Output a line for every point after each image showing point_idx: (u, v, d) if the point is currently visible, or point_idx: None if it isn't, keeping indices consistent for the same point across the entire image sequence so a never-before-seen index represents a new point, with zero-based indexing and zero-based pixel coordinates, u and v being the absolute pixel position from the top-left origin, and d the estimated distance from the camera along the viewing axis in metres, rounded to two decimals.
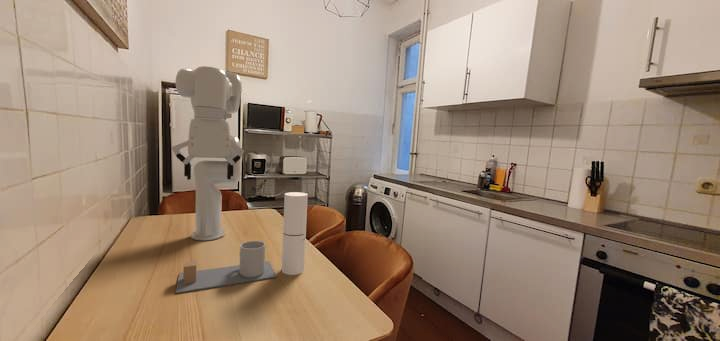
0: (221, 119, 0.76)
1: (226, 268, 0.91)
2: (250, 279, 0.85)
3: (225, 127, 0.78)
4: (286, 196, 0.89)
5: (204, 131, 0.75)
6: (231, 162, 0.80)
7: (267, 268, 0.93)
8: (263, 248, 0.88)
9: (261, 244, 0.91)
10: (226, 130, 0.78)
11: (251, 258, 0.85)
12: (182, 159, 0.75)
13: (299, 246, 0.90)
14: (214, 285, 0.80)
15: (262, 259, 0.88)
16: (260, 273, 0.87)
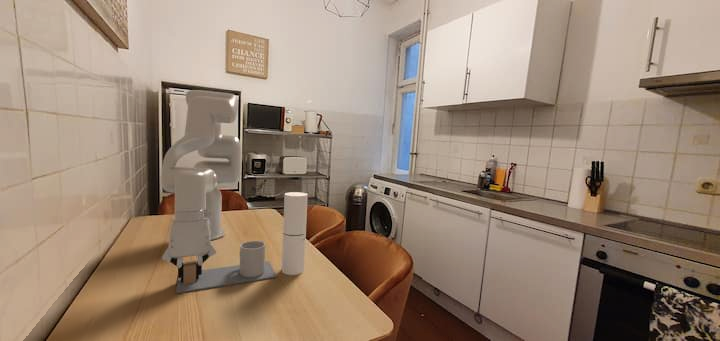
0: (200, 220, 0.80)
1: (226, 268, 0.91)
2: (250, 279, 0.85)
3: (205, 226, 0.81)
4: (286, 196, 0.89)
5: (184, 233, 0.78)
6: (200, 262, 0.82)
7: (267, 268, 0.93)
8: (263, 248, 0.88)
9: (261, 244, 0.91)
10: (206, 229, 0.81)
11: (251, 258, 0.85)
12: (176, 263, 0.79)
13: (299, 246, 0.90)
14: (214, 285, 0.80)
15: (262, 259, 0.88)
16: (260, 273, 0.87)
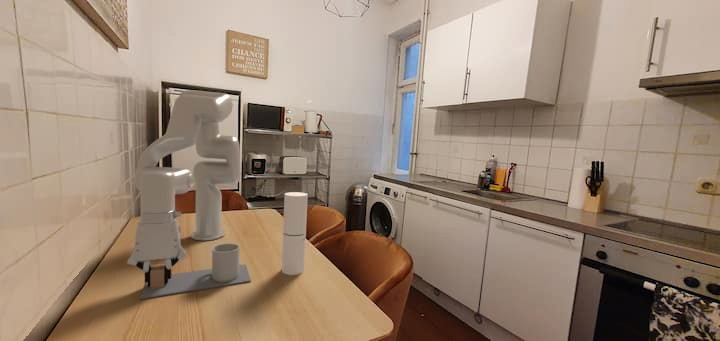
0: (168, 222, 0.76)
1: (199, 272, 0.87)
2: (222, 283, 0.81)
3: (173, 228, 0.77)
4: (286, 196, 0.89)
5: (150, 236, 0.75)
6: (168, 266, 0.78)
7: (242, 272, 0.89)
8: (236, 251, 0.84)
9: (235, 247, 0.88)
10: (174, 231, 0.77)
11: (223, 262, 0.82)
12: (142, 267, 0.76)
13: (299, 246, 0.90)
14: (183, 290, 0.77)
15: (235, 262, 0.84)
16: (233, 277, 0.84)
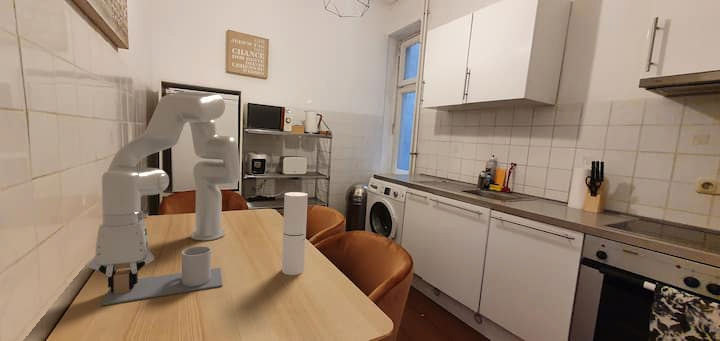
0: (132, 224, 0.72)
1: (169, 276, 0.84)
2: (191, 288, 0.78)
3: (138, 231, 0.74)
4: (286, 196, 0.89)
5: (113, 238, 0.71)
6: (133, 270, 0.75)
7: (215, 276, 0.86)
8: (207, 254, 0.80)
9: (207, 250, 0.84)
10: (139, 234, 0.74)
11: (192, 265, 0.78)
12: (105, 271, 0.72)
13: (299, 246, 0.90)
14: (148, 295, 0.73)
15: (206, 266, 0.80)
16: (204, 282, 0.80)
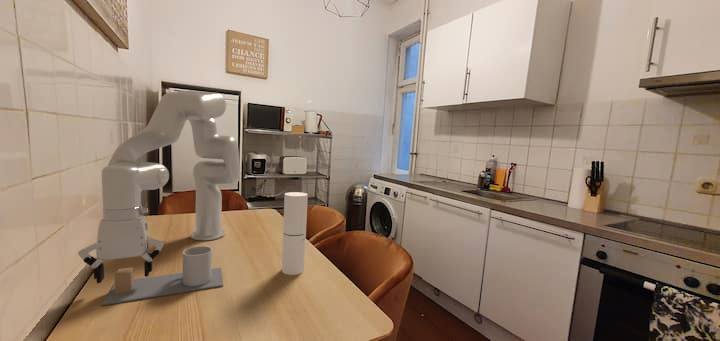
0: (133, 219, 0.72)
1: (170, 276, 0.84)
2: (192, 288, 0.78)
3: (139, 225, 0.74)
4: (286, 196, 0.89)
5: (114, 233, 0.71)
6: (148, 259, 0.76)
7: (215, 276, 0.86)
8: (208, 254, 0.81)
9: (208, 250, 0.84)
10: (140, 228, 0.74)
11: (193, 265, 0.78)
12: (91, 263, 0.71)
13: (299, 246, 0.90)
14: (149, 295, 0.73)
15: (207, 266, 0.81)
16: (205, 281, 0.80)
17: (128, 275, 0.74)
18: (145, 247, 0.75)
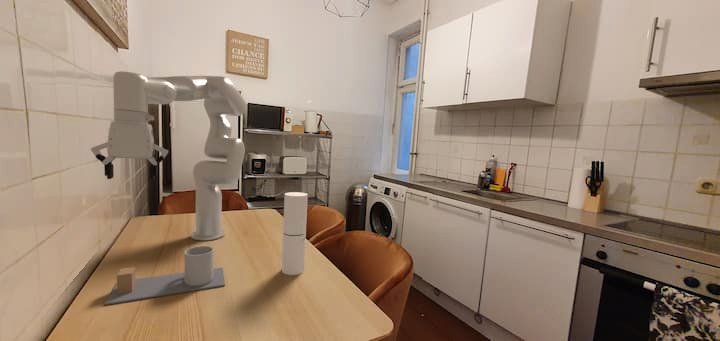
0: (140, 121, 0.80)
1: (172, 275, 0.84)
2: (194, 288, 0.78)
3: (146, 129, 0.82)
4: (286, 196, 0.89)
5: (123, 133, 0.79)
6: (153, 162, 0.84)
7: (217, 275, 0.86)
8: (210, 254, 0.81)
9: (210, 249, 0.84)
10: (147, 132, 0.82)
11: (195, 265, 0.78)
12: (102, 159, 0.79)
13: (299, 246, 0.90)
14: (151, 295, 0.73)
15: (209, 266, 0.81)
16: (206, 281, 0.81)
17: (130, 275, 0.74)
18: (151, 150, 0.83)
